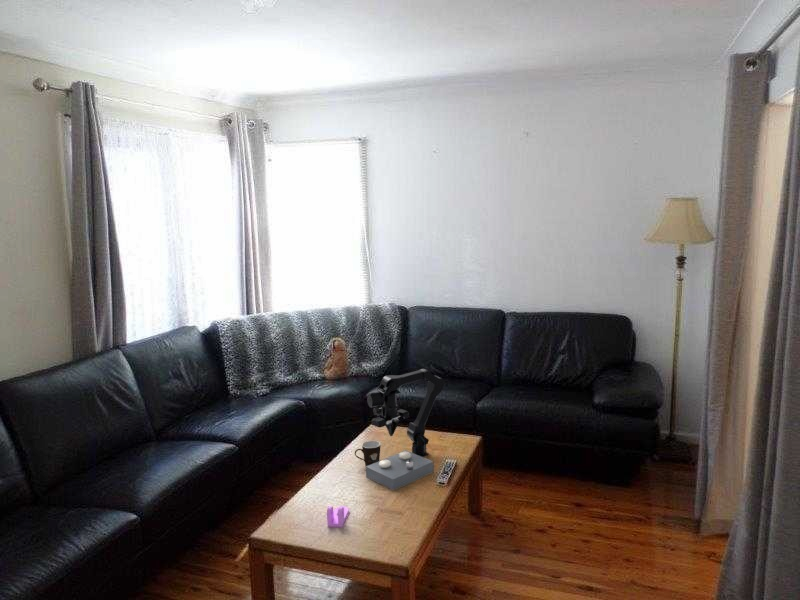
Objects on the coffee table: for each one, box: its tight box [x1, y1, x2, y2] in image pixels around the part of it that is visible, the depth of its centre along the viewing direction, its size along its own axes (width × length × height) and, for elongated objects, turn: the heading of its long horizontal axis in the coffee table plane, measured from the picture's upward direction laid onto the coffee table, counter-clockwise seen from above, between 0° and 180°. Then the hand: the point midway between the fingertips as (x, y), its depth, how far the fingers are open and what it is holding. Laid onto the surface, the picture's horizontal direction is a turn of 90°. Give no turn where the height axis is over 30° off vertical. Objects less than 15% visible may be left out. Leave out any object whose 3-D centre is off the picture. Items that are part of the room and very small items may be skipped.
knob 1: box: [379, 459, 391, 469], centre depth 257 cm, size 5×5×4 cm
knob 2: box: [399, 451, 411, 460], centre depth 265 cm, size 5×5×4 cm
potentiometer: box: [406, 458, 413, 470], centre depth 253 cm, size 3×3×5 cm
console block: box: [365, 449, 434, 492], centre depth 259 cm, size 24×18×5 cm
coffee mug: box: [354, 440, 382, 467], centre depth 270 cm, size 12×9×10 cm
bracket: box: [326, 505, 350, 528], centre depth 224 cm, size 13×6×7 cm, turn 171°
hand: (391, 435), depth 271 cm, fingers closed
